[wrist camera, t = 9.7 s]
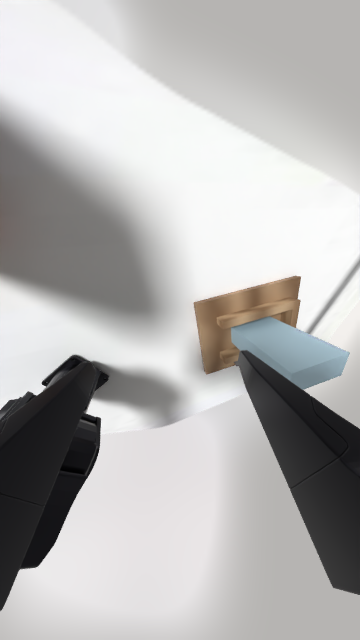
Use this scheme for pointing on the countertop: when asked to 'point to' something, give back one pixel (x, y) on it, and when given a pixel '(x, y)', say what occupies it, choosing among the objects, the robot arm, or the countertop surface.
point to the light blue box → (290, 351)
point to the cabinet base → (242, 317)
